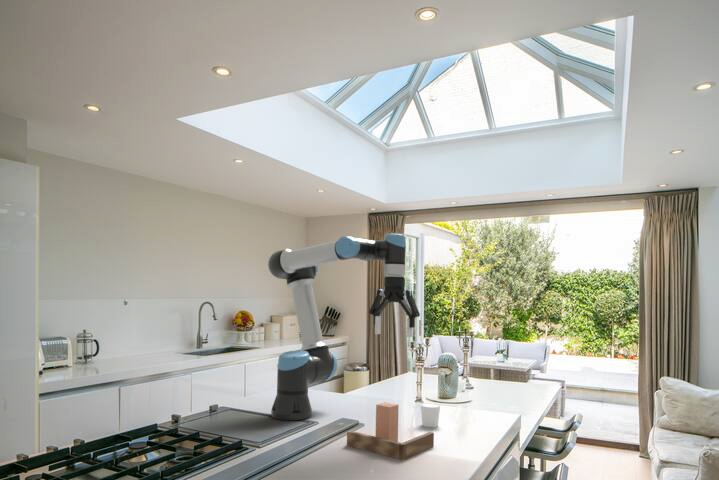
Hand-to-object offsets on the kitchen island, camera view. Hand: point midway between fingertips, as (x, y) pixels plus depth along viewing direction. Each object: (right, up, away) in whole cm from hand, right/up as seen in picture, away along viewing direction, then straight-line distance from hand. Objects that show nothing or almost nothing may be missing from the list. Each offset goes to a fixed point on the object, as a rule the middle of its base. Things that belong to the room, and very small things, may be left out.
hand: (393, 335), depth 184 cm
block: (-4, -29, -26) cm, 39 cm away
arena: (-3, -29, -26) cm, 39 cm away
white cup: (+13, -32, 0) cm, 35 cm away
